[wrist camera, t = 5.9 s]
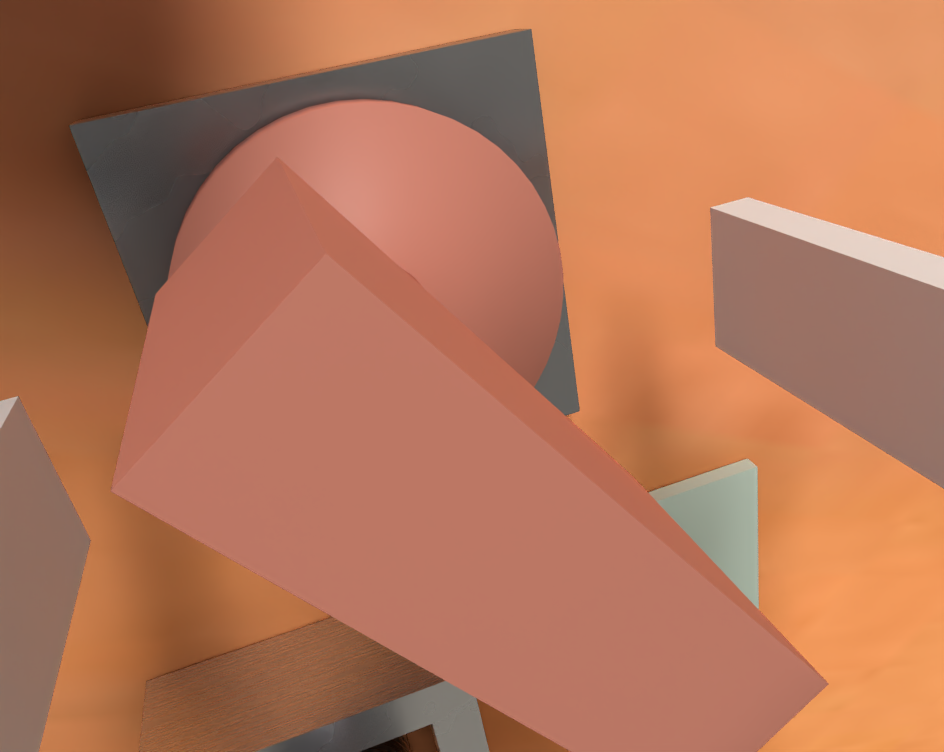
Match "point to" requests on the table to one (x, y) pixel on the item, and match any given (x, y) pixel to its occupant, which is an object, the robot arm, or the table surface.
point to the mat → (721, 519)
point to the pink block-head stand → (430, 440)
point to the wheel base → (256, 105)
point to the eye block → (306, 699)
